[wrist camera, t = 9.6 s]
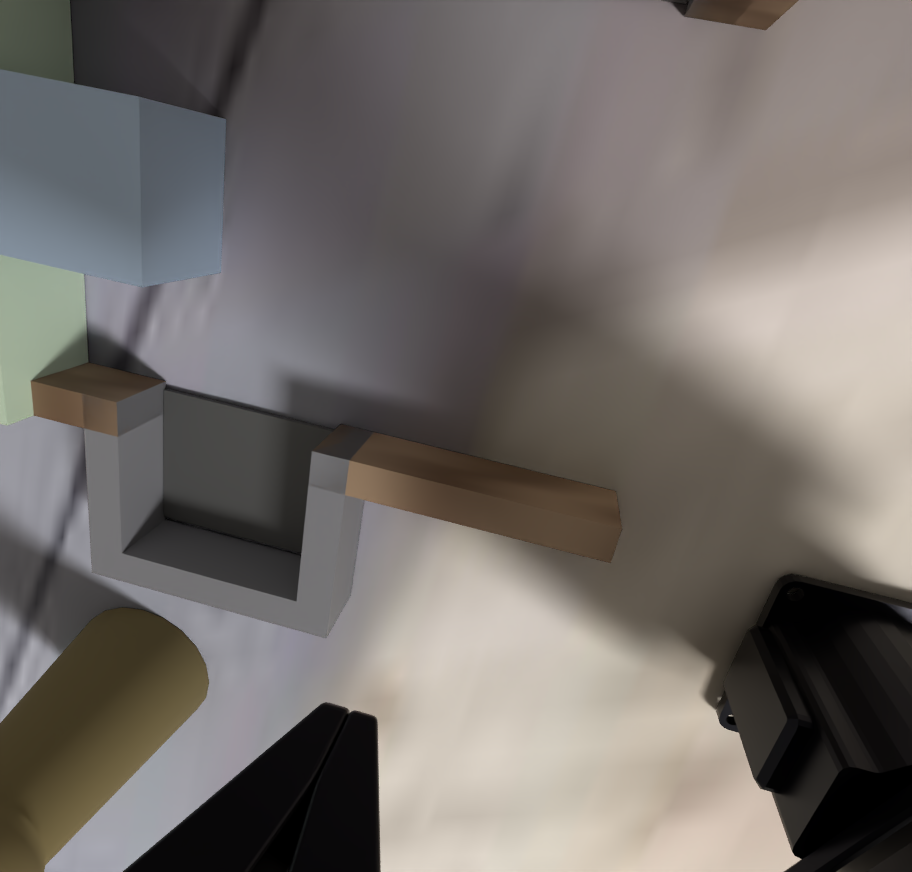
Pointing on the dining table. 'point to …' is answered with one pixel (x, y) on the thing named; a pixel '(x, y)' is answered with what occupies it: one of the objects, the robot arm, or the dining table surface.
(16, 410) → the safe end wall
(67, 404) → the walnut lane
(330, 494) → the trap pockets
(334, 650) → the dining table surface
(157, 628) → the cork
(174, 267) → the slate block
